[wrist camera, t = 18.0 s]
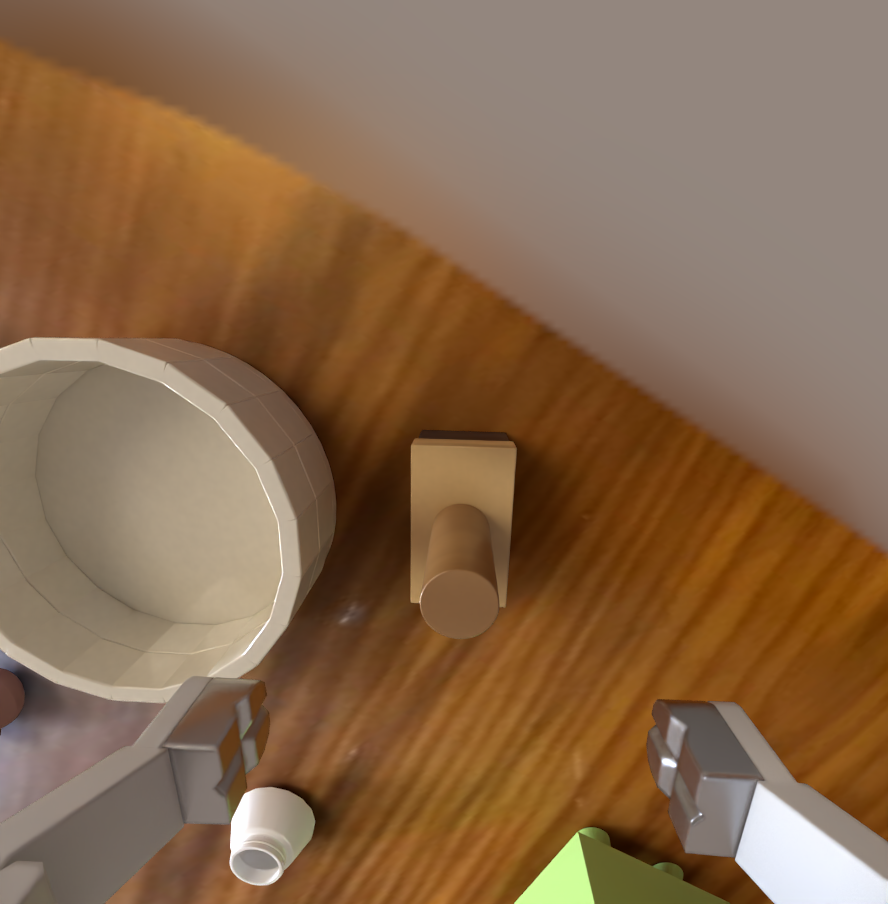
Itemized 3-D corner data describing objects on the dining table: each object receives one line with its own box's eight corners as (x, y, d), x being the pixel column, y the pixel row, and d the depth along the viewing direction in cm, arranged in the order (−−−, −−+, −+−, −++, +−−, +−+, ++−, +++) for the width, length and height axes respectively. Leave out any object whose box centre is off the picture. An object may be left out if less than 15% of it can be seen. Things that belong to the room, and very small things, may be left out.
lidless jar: (251, 842, 28) (325, 837, 27) (226, 900, 25) (309, 895, 25) (229, 784, 27) (305, 777, 26) (200, 837, 24) (286, 830, 23)
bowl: (-1, 335, 20) (-149, 334, 15) (328, 340, 19) (283, 341, 15) (68, 622, 24) (-31, 694, 19) (343, 634, 23) (312, 711, 19)
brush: (419, 427, 20) (388, 489, 12) (508, 430, 20) (539, 494, 12) (418, 563, 22) (391, 699, 14) (499, 567, 22) (521, 706, 14)
